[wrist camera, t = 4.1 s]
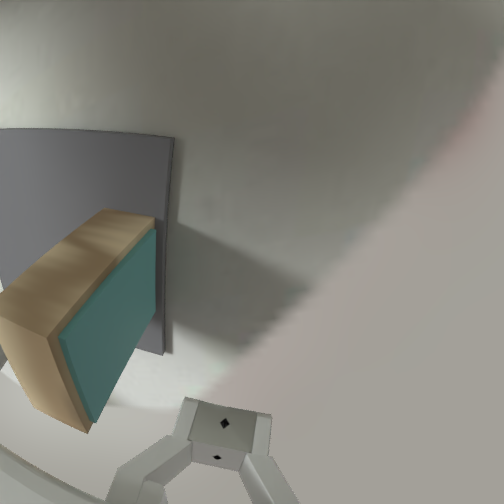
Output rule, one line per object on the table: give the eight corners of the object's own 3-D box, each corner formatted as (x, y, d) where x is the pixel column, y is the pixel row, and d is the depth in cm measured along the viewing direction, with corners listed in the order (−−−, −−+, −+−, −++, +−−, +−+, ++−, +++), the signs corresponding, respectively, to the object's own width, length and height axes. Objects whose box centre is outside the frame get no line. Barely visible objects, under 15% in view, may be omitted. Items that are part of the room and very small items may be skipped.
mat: (9, 295, 21) (6, 298, 20) (-17, 129, 14) (-22, 130, 14) (164, 350, 21) (162, 355, 20) (174, 137, 14) (170, 139, 13)
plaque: (110, 297, 18) (34, 407, 10) (104, 207, 15) (-15, 307, 8) (158, 311, 18) (93, 436, 10) (160, 218, 15) (54, 341, 7)
